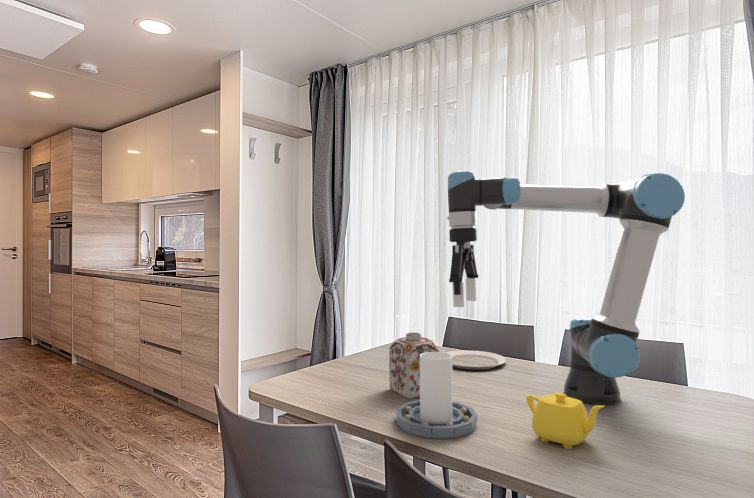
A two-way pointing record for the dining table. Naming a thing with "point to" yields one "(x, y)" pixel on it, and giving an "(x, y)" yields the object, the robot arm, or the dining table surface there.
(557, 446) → the dining table surface
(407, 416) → the beads
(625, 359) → the robot arm
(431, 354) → the cup
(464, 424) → the tray
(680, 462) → the dining table surface
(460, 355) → the plate
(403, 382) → the decorative jar
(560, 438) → the teapot
